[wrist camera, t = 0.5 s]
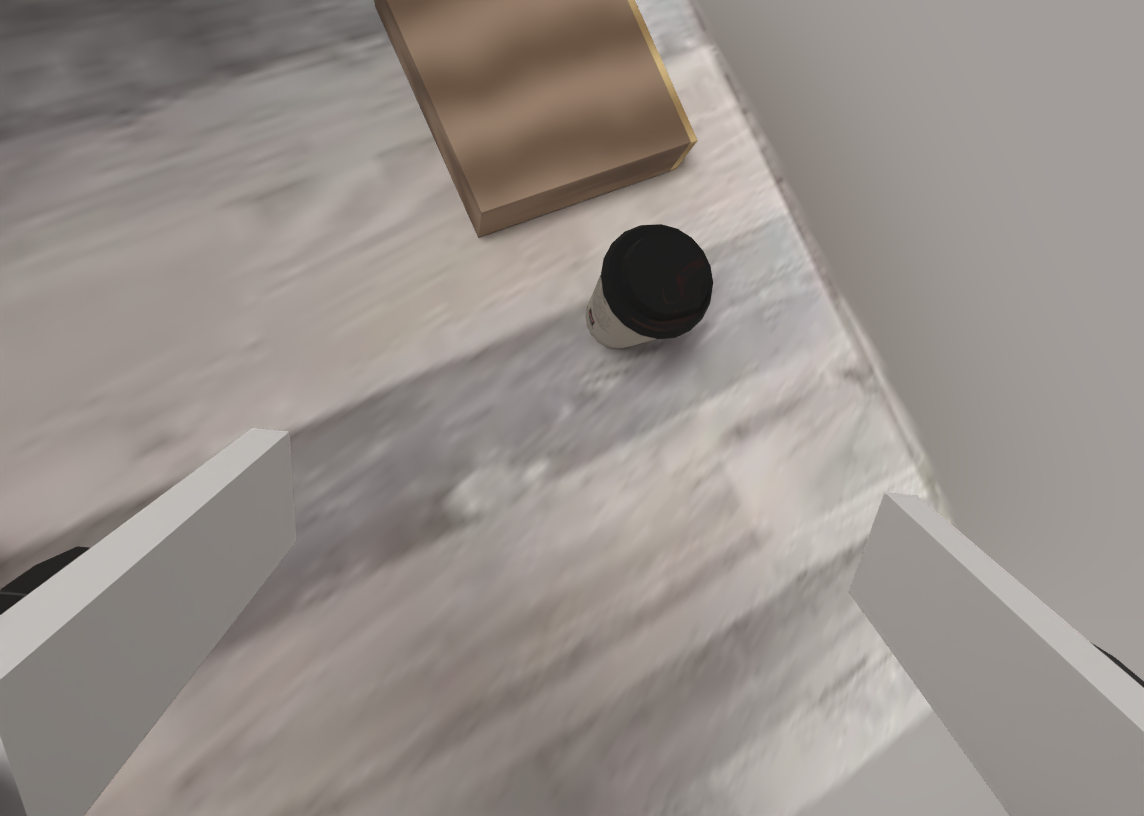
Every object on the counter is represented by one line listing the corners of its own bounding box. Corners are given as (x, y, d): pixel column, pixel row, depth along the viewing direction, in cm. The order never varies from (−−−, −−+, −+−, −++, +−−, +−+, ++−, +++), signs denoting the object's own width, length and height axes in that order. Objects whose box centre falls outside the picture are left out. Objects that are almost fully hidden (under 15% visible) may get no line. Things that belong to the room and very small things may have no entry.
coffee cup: (556, 344, 40) (591, 305, 30) (587, 257, 41) (630, 193, 31) (644, 378, 41) (705, 351, 31) (671, 293, 42) (738, 242, 33)
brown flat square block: (375, 6, 40) (367, -44, 36) (581, -42, 43) (594, -92, 40) (478, 237, 39) (481, 212, 36) (675, 168, 43) (698, 139, 39)
